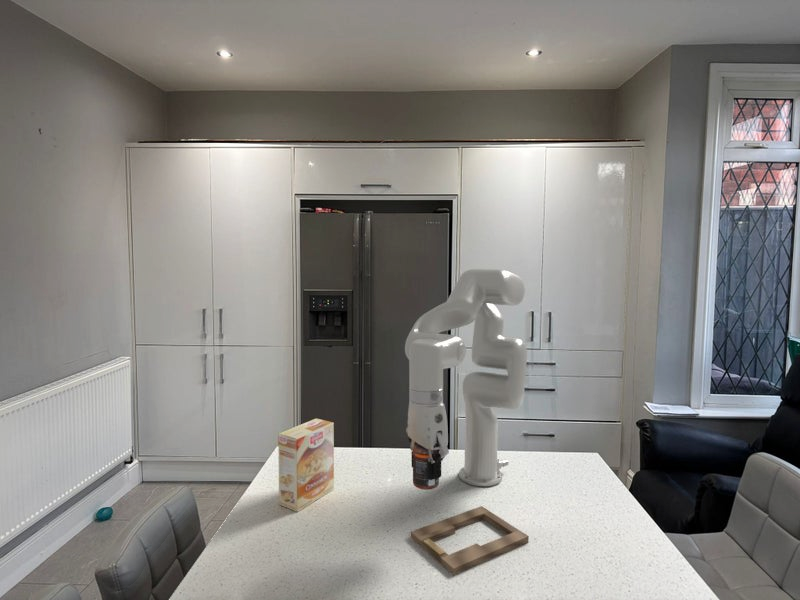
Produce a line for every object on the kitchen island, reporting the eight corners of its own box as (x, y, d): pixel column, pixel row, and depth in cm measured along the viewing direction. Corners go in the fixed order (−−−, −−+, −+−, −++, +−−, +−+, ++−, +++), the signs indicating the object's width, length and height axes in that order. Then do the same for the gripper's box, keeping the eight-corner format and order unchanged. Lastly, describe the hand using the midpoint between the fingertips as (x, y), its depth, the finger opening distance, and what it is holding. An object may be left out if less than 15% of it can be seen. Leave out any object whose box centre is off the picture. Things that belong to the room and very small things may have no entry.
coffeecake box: (297, 512, 126) (296, 439, 124) (277, 505, 130) (276, 433, 128) (335, 489, 139) (334, 421, 137) (316, 483, 143) (315, 417, 141)
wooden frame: (481, 511, 127) (481, 504, 127) (528, 542, 114) (528, 534, 114) (410, 537, 115) (410, 530, 115) (453, 575, 102) (453, 567, 102)
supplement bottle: (439, 491, 109) (439, 442, 108) (412, 491, 109) (412, 441, 108) (438, 478, 115) (438, 431, 114) (412, 478, 115) (412, 431, 114)
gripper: (463, 402, 105) (462, 483, 107) (418, 383, 119) (419, 454, 121) (434, 409, 101) (434, 492, 103) (392, 388, 115) (392, 461, 117)
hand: (426, 471), depth 112 cm, fingers closed on supplement bottle, 6 cm apart
